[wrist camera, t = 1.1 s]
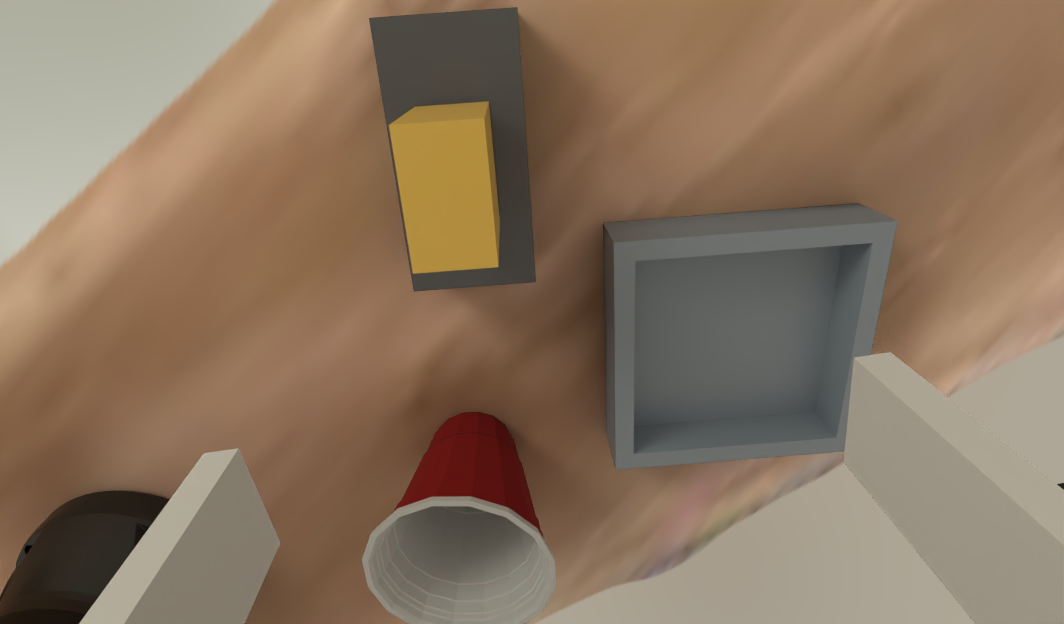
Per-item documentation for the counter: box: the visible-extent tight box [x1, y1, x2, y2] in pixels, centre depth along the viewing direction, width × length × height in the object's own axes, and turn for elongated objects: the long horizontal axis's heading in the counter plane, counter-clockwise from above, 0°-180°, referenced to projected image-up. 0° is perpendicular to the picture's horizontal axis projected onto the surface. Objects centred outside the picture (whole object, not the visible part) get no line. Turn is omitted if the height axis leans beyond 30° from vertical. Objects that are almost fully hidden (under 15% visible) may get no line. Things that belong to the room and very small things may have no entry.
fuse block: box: [369, 7, 536, 291], centre depth 32 cm, size 7×14×4 cm, turn 4°
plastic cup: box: [362, 412, 556, 624], centre depth 38 cm, size 11×11×12 cm
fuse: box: [389, 101, 500, 274], centre depth 29 cm, size 4×6×12 cm, turn 4°
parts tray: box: [603, 203, 897, 470], centre depth 38 cm, size 16×16×4 cm
